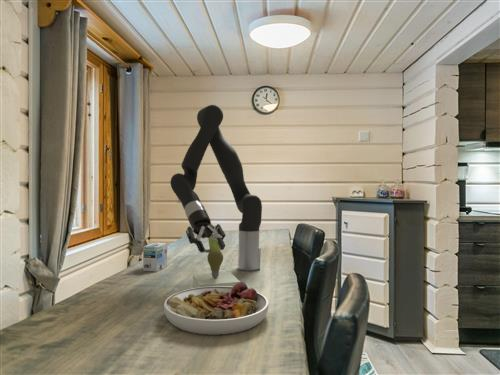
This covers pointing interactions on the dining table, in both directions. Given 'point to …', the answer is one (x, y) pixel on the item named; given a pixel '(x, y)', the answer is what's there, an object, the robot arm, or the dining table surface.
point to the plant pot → (213, 244)
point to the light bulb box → (154, 257)
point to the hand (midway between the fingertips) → (213, 249)
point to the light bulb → (215, 262)
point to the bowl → (216, 309)
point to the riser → (214, 280)
